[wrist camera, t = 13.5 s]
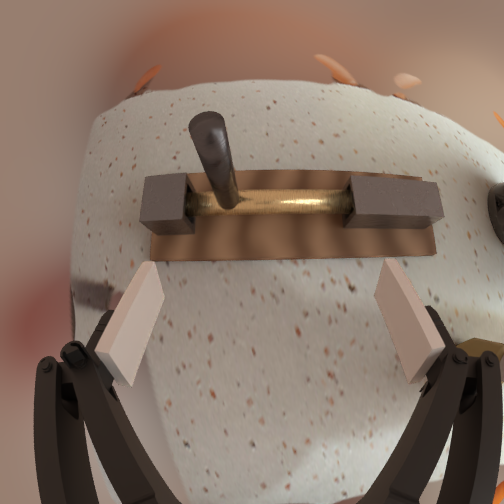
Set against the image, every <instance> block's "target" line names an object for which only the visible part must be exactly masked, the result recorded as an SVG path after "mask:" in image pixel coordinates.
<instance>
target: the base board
mask: <svg viewBox="0 0 504 504" xmlns="http://www.w3.org/2000/svg"><path fill="white" fill-rule="evenodd" d="M234 172H235V177H236V182H237V187H238V190H260V189H328V190H342V189H343V187H344V185H345V184H346V182H347V180H348V179H349V177H350V175H355V176H371V177H385V178H397V179H408V180H417V181H422V177H413V176H404V175H393V174H382V173H368V172H352V171H329V170H245V171H234ZM187 175H188V177H189V179H190V181H191V183H192V184H193V186H194V188H195V190H196V192H207V191H213V190H212V188H211V185H210V183H209V180H208V178H207V175H206V173H205V172H204V173H190V174H187ZM435 254H437V253H436V246H435V239H434V233H433V227H432V225H430V226H429V227H427V228H425V229H371V228H343V220H342V214H257V215H221V216H196V223H195V234H189V235H161V236H157V235H156V234H155V233H153V232H152V238H151V251H150V260H152V261H227V260H283V259H328V258H367V257H402V256H432V255H435Z"/></svg>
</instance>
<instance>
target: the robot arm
mask: <svg viewBox="0 0 504 504" xmlns="http://www.w3.org/2000/svg"><path fill="white" fill-rule="evenodd" d="M488 209H489V214H490V218H491V222H492V225H493V227H494V230H495V232H496V234H497V235H498V237H499V239H500V240H501V242H502V243H503V244H504V182H503V183H499V184H497V185H495V186H494V187H493V188H491V190H490V192H489V195H488ZM374 296H375V299H376V301H377V303H378V306H379V308H380V310H381V313H382V315H383V318H384V320H385V322H386V325H387V327H388V330H389V332H390V335H391V338H392V340H393V343H394V345H395V348H396V351H397V353H398V356H399V359H400V362H401V365H402V367H403V370H404V373H405V376H406V379H407V382H408V384H412V383H416V382H420V381H421V380H422V379H423V378H424V376H425V375H426V376H427V379H428V381H427V382H426V383H425V385H424V386H423V387H422V388H421V390H420V391H419V392H422V394H421V396H420V398H419V401H418V403H417V405H416V408H415V410H414V412H413V414H412V416H411V418H410V420H409V423H408V425H407V427H406V429H405V431H404V432H403V434H402V436H401V438H400V440H399V442H398V444H397V446H396V447H395V449H394V451H393V453H392V454H391V456H390V458H389V459H388V461H387V463H386V464H385V466H384V468H383V469H382V471H381V472H380V474H379V475H378V477H377V479H376V480H375V481H374V483H373V484H372V486H371V487H370V489H369V490H368V492H367V493H366V494H365V496H364V497H363V498H362V499H361V500H360V501H358V502H357V503H356V504H420V503H419V498H420V496H421V494H422V492H423V491H424V488H425V487H426V485H427V483H428V481H429V479H430V477H431V475H432V473H433V471H434V469H435V467H436V465H437V463H438V460H439V458H440V456H441V453H442V451H443V449H444V446H445V444H446V441H447V439H448V436H449V433H450V431H451V428H452V425H453V431H452V438H451V444H450V450H449V456H448V461H447V466H446V470H445V475H444V479H443V483H442V486H441V490H440V494H439V497H438V500H437V504H492V502H493V498H494V494H495V489H496V483H497V478H498V472H499V464H500V456H501V445H502V427H503V402H502V383H501V371H500V362H499V359H498V357H497V355H496V354H495V353H493V352H492V351H484V352H483V353H482V354H481V356H480V357H473V356H468V354H467V353H466V352H465V351H464V350H463V349H461V348H457V347H455V345H454V343H453V341H452V339H451V337H450V335H449V333H448V331H447V329H446V327H445V326H444V324H443V322H442V321H441V318H440V317H439V315H438V313H437V312H436V311H435V310H434V309H433V308H432V307H431V306H424V305H423V303H422V301H421V299H420V298H419V296H418V294H417V292H416V291H415V289H414V287H413V286H412V284H411V282H410V281H409V279H408V277H407V276H406V274H405V273H404V271H403V269H402V268H401V266H400V265H399V263H398V262H397V260H396V259H384V262H383V266H382V270H381V273H380V277H379V280H378V284H377V287H376V291H375V294H374ZM164 299H165V296H164V293H163V290H162V286H161V283H160V279H159V276H158V272H157V269H156V265H155V261H153V262H142V264H141V265H140V267H139V269H138V270H137V272H136V274H135V276H134V277H133V279H132V281H131V282H130V284H129V286H128V288H127V289H126V291H125V293H124V295H123V297H122V299H121V300H120V302H119V304H118V306H117V307H116V309H115V310H108V311H107V312H106V313H105V314H104V315H103V316H102V317H101V319H100V321H99V323H98V325H97V326H96V328H95V331H94V332H93V334H92V336H91V338H90V340H89V341H88V343H87V345H86V347H84V345H83V344H82V343H81V342H79V341H71V342H69V343H67V344H66V345H65V346H64V347H63V348H62V350H61V353H60V357H61V358H62V360H63V361H64V362H59V363H58V362H57V361H56V359H55V358H54V357H51V356H47V357H45V358H43V359H42V360H41V361H40V362H39V363H38V366H37V371H36V381H35V395H34V396H35V397H34V450H35V461H36V462H35V463H36V472H37V480H38V487H39V493H40V498H41V503H42V504H99V501H98V498H97V494H96V490H95V485H94V481H93V477H92V472H91V467H90V462H89V456H88V450H87V444H86V436H85V428H84V421H85V424H86V427H87V430H88V432H89V435H90V438H91V440H92V443H93V445H94V447H95V450H96V452H97V455H98V457H99V459H100V461H101V463H102V466H103V468H104V470H105V472H106V474H107V476H108V478H109V480H110V482H111V484H112V486H113V488H114V490H115V491H116V493H117V495H118V497H119V499H120V500H121V502H122V504H182V503H181V502H179V501H178V500H177V499H176V497H175V496H174V494H173V493H172V491H171V490H170V489H169V487H168V486H167V484H166V483H165V481H164V480H163V478H162V477H161V476H160V474H159V472H158V471H157V470H156V468H155V466H154V465H153V463H152V461H151V460H150V458H149V456H148V454H147V453H146V451H145V449H144V448H143V446H142V444H141V442H140V441H139V439H138V437H137V435H136V433H135V431H134V429H133V427H132V425H131V423H130V421H129V420H128V417H127V415H126V414H125V411H124V409H123V407H122V405H121V403H120V400H119V398H118V396H117V394H116V391H115V389H114V387H113V386H112V382H113V380H114V379H115V381H116V382H117V383H118V385H122V386H127V387H132V386H133V383H134V380H135V377H136V374H137V371H138V367H139V365H140V362H141V359H142V357H143V354H144V351H145V348H146V346H147V343H148V340H149V337H150V335H151V332H152V329H153V327H154V324H155V322H156V319H157V316H158V314H159V311H160V309H161V306H162V304H163V301H164ZM422 390H423V391H422ZM453 422H454V423H453Z"/></svg>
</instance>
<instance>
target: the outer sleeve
mask: <svg viewBox="0 0 504 504" xmlns="http://www.w3.org/2000/svg"><path fill="white" fill-rule="evenodd" d="M342 190H351V194H352V200H353V208H354V211H353V212H352V213H351V214H342V220H343V228H371V229H425V228H427V227H429V226H430V225H432V224H434V223H435V222H437V221H439V220H440V219H442V218H444V213H443V208H442V203H441V199H440V195H439V191H438V187H437V183H435V182H426V181H417V180H408V179H397V178H385V177H371V176H355V175H350V177H349V179H348V180H347V182H346V184H345V185H344V187H343V189H342Z"/></svg>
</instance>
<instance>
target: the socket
mask: <svg viewBox="0 0 504 504" xmlns="http://www.w3.org/2000/svg"><path fill="white" fill-rule="evenodd" d="M190 192H196V190H195V188H194V186H193V184H192V183H191V181H190V179H189V177H188V175H187V173H177V174H166V175H157V176H148V177H145V184H144V190H143V197H142V204H141V212H140V221H139V222H141V223H142V224H143V225H145V226H146V227H147V228H148V229H150V230H151V231H152V232H153V233H155V234H156V235H157V236H161V235H189V234H195V223H196V217H187V216H186V215H185V206H186V194H187V193H190Z"/></svg>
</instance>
